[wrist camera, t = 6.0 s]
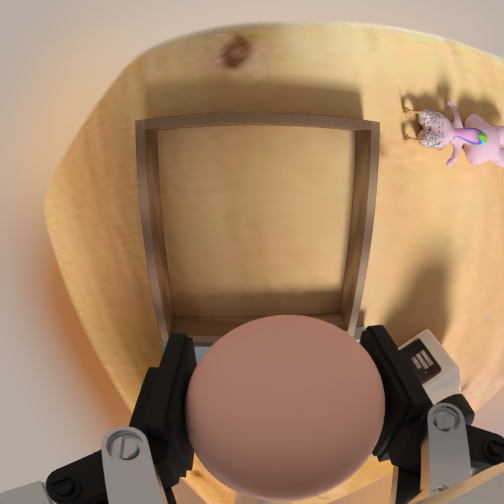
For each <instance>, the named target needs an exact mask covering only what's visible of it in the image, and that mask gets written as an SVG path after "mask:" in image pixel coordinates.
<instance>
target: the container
mask: <svg viewBox="0 0 504 504" xmlns="http://www.w3.org/2000/svg"><path fill="white" fill-rule="evenodd" d="M398 349H399V351H400V352H401V354H402V355H403V357H404V358H405V359H406V360H407V362H408V363H409V365H410V366H411V368H412V370H413V371H414V373H415V375H416V376H417V378H418V379H419V381H420V383H421V384H422V386H423V388H424V389H425V391H426V393H427V394H428V396H429V398H430V400H431V401H432V403H433V405H436V404H438V403H450V404H452V405H454V406H456V407H457V408H459V409H460V411H461V412H462V414H463V416H464V420H465V424H468V425H471V424H472V422H473V420H474V415H475V413H474V411H473V410H472V408H471V406H470V405H469V403H468V402H467V400H466V399H465V397H464V396H463V394H462V393H461V387H460V377H459V368H458V366H457V365H456V363H455V362H454V361H453V359H452V358H451V357H450V355H449V354H448V353H447V352H446V350H445V349H444V348H443V347H442V345H441V344H440V343H439V341H438V340H437V339H436V338H435V336H434V335H433V334H432V333H431V332H430V330H429V329H425V330H423V331H422V332H420V333H419V334H417V335H416V336H415V337H413V338H412V339H410V340H409V341H407V342H406V343H404V344H403V345H401V346H400V347H398Z"/></svg>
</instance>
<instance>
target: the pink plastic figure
mask: <svg viewBox="0 0 504 504" xmlns="http://www.w3.org/2000/svg"><path fill="white" fill-rule="evenodd" d="M447 105H448V106H449V107H450V108H451V110H452V112H453V116H454V121H453V123H451V122H450V121H449V119H448V118H447V117H446V116H444V115H443V114H441V113H439V112H437V111H434V110H429V109H423V110H421V111H414V110H410V109H408V108H406V107H404V108H405V111H404V112H406V116H405V117H407V115H408V114H410V113H417V114H418V121H419V123H420V124H421V125H422V127H423V129H422V130H421V131H420V132H419V134H418V139H415V138H411V137H409V136H408V135H407V134H406V133H405V134H406V138H405V139H404V140H406V142H405V143H408V141H419V143H420V144H421V145H422V146H423V147H425V148H430V149H438V148H442V147H445V146H447V145H448V144H449V143H451V144H452V145H453V148H454V150H453V154H452V157H451V158H450V159H449V160H448V161H447V162H446V164H447V166H449V167H450V166H451V165H452V164H453V163H454V162H455V161H456V159H457V158H458V156H459V153H460V151H461V148H462V146H463V144H464V152H465V155H466V157H467V159H468V160H469V162H470V163H471V164H472V165H479V164H481V163H484V162H486V161H493V162H494V163H495V164H497V165H498V166H500V167H504V148H501V147H500V145H503V146H504V126H495V127H493V126H492V125H490V124H488V123H487V122H485V121H484V120H483V119H482V118H481V117H480V116H478V115H477V114H471V115H470V116H469V117H468V118H467V119H466V121H465V125H464V128H463V126H462V122H461V119H460V116H459V114H458V111H457V109H456V108H455V106H454V104H453V103H452V101H450V100H447Z"/></svg>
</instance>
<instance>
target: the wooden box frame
mask: <svg viewBox="0 0 504 504" xmlns="http://www.w3.org/2000/svg"><path fill="white" fill-rule="evenodd" d="M229 125H279V126H304V127H320V128H332V129H343V130H353V131H356V160H355V180H354V195H353V208H352V219H351V229H350V239H349V248H348V256H347V264H346V271H345V279H344V286H343V292H342V299H341V305H340V311H339V313H331V314H314V315H300V316H308V317H312V318H316V319H320V320H322V321H325V322H327V323H330V324H333V325H335V326H337V327H338V328H340V329H342V330H343V331H345V332H346V333H348V334H349V335H350V336H354V333H355V328H356V324H357V319H358V315H359V310H360V305H361V300H362V295H363V289H364V284H365V278H366V272H367V266H368V260H369V253H370V246H371V238H372V231H373V222H374V213H375V203H376V192H377V179H378V163H379V137H380V122H375V121H368V120H360V119H352V118H344V117H334V116H323V115H309V114H292V113H214V114H196V115H183V116H172V117H162V118H153V119H145V120H138V121H135V127H136V156H137V173H138V187H139V199H140V209H141V219H142V227H143V236H144V243H145V251H146V258H147V265H148V271H149V277H150V283H151V289H152V295H153V300H154V305H155V311H156V316H157V321H158V325H159V330H160V335H161V339H162V341H168V338H169V335H170V333H187V336H188V337H192V338H193V342H213V343H216V342H217V341H218V340H219V339H220V338H222V337H223V336H224V335H226V334H227V333H229V332H230V331H231V330H233V329H235V328H237V327H239V326H241V325H243V324H246V323H248V322H250V321H254V320H257V319H260V318H264V317H269V316H263V317H176V316H174V311H173V304H172V298H171V291H170V284H169V277H168V269H167V262H166V253H165V245H164V235H163V225H162V215H161V203H160V189H159V173H158V153H157V130H165V129H176V128H188V127H204V126H229Z"/></svg>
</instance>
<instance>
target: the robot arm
mask: <svg viewBox="0 0 504 504" xmlns="http://www.w3.org/2000/svg"><path fill="white" fill-rule="evenodd" d="M359 344H360V345H361V346H362V347H363V348H364V349H365V350H366V351H367V352H368V354H369V355H370V357H371V358H372V360H373V362H374V363H375V365H376V367H377V369H378V372H379V374H380V377H381V380H382V383H383V388H384V393H385V417H384V423H383V427H382V431H381V434H380V436H379V439H378V442H377V444H376V446H375V447H374V449H373V451H372V454H373V455H374V456H377V457H378V460H379V462H381V461H385V460H389V459H390V461H391V463H392V465H394V466H393V478H392V488H391V496H390V504H504V438H503V437H502V436H500V435H498V434H495V433H492V432H489V431H486V430H483V429H480V428H477V427H473V426H471V425H468V424H465V420H464V416H463V414H462V412H461V411H460V409H459V408H457V407H456V406H454V405H452V404H450V403H438V404H436V405H433V403H432V401H431V400H430V398H429V396H428V394H427V393H426V391H425V389H424V388H423V386H422V384H421V383H420V381H419V379H418V378H417V376H416V375H415V373H414V371H413V370H412V368H411V366H410V365H409V363H408V362H407V360H406V359H405V358H404V357H403V355H402V354H401V352H400V351H399V349H398V347H397V346H396V344H395V343H394V341H393V340H392V338H391V337H390V335H389V334H388V332H387V331H386V329H385V327H384V326H383V325H375V326H368V327H367V328H366V330H364V331H362V333H361V337H360V341H359ZM196 366H197V361H196V355H195V349H194V342H193V338H192V337H188V336H187V333H170V335H169V338H168V341H167V344H166V347H165V350H164V353H163V356H162V360H161V363H160V366H159V368H155V367H150V368H149V369H148V371H147V373H146V376H145V379H144V382H143V385H142V388H141V391H140V393H139V396H138V399H137V402H136V405H135V408H134V411H133V415H132V418H131V421H130V424H129V426H121V427H117V428H114V429H112V430H111V431H109V432H108V433H107V434H106V435H105V436H104V438H103V440H102V446H101V450H99V451H97V452H95V453H93V454H91V455H88V456H86V457H84V458H82V459H80V460H77V461H75V462H73V463H70V464H68V465H66V466H64V467H61V468H59V469H56V470H55V471H53V472H52V473H51V474H50V475H49V476H48V478H47V481H46V482H43V483H42V482H41V481H37V482H34V483H31V484H28V485H25V486H22V487H19V488H15V489H12V490H8V491H5V492H2V493H0V504H179V503H178V500H177V497H176V494H175V491H174V488H173V486H174V485H176V484H177V483H179V478H180V477H186V471H187V470H190V471H191V470H192V466H193V458H194V449H193V447H192V445H191V443H190V441H189V438H188V434H187V430H186V425H185V411H184V407H185V396H186V392H187V388H188V385H189V382H190V378H191V376H192V374H193V372H194V370H195V368H196ZM235 504H292V501H287V502H275V501H265V500H260V499H256V498H252V497H249V496H246V495H243V494H241V493H239V492H237V491H235Z"/></svg>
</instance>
